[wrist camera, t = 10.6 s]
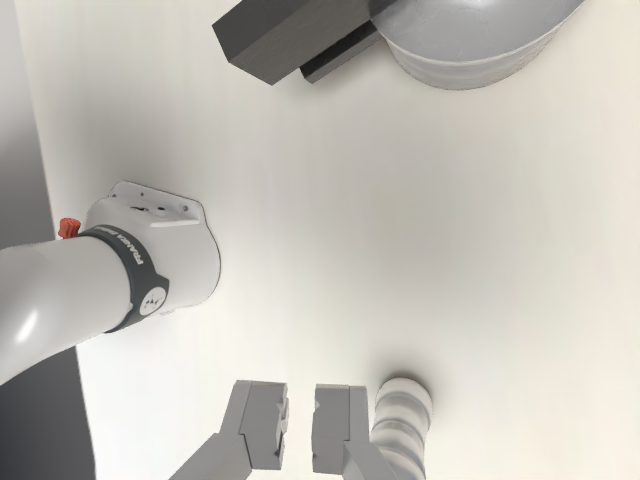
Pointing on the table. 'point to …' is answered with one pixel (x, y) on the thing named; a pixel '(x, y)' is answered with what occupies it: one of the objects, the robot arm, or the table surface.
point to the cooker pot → (421, 62)
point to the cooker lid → (384, 29)
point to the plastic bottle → (402, 426)
